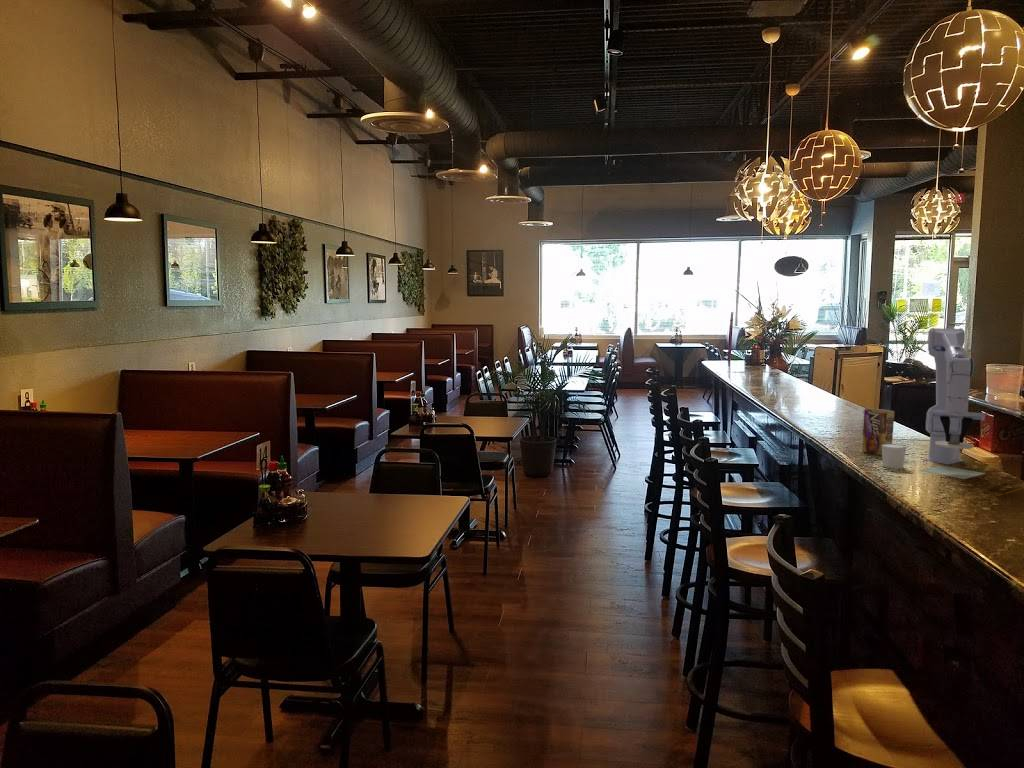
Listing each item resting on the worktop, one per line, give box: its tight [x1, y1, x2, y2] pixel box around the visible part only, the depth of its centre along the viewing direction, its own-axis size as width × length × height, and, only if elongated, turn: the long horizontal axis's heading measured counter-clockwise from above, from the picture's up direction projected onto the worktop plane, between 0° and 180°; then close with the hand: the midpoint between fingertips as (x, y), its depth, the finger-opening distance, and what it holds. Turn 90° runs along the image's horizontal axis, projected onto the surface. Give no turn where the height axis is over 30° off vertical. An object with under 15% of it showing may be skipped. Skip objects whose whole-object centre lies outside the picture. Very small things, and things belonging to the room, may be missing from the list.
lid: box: [935, 433, 974, 450], centre depth 224 cm, size 10×10×4 cm
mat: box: [919, 464, 986, 480], centre depth 225 cm, size 13×13×1 cm
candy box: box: [861, 407, 895, 456], centre depth 253 cm, size 9×4×15 cm, turn 26°
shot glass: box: [881, 443, 907, 470], centre depth 232 cm, size 7×7×7 cm
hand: (954, 441), depth 224 cm, fingers closed on lid, 3 cm apart
